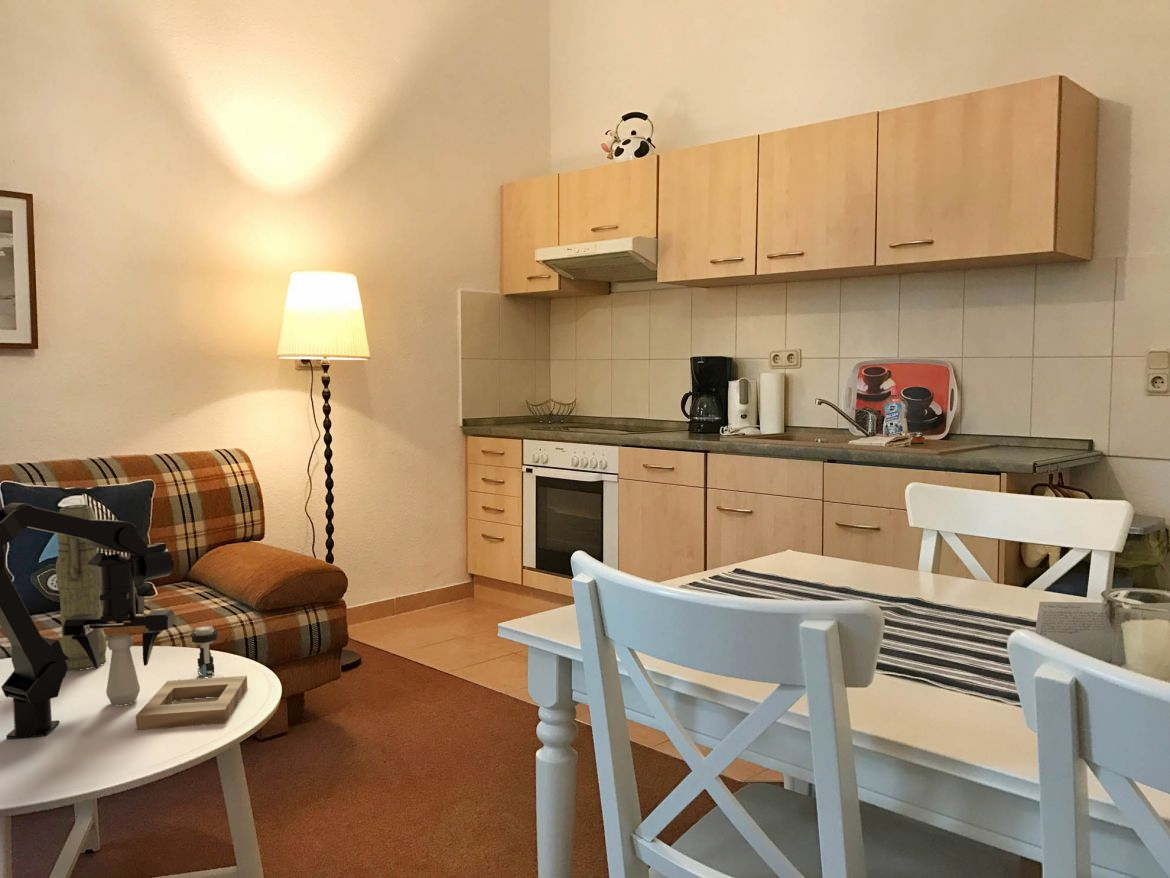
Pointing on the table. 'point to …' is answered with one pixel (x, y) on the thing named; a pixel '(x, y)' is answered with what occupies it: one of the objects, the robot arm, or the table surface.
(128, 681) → the salt shaker
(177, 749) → the table surface
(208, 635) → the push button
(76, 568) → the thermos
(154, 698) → the wooden flat frame
